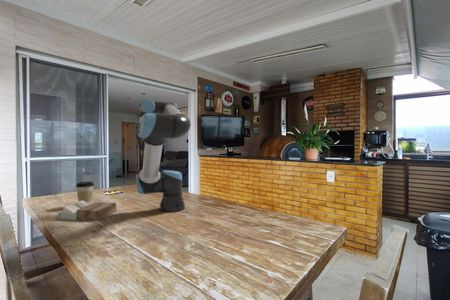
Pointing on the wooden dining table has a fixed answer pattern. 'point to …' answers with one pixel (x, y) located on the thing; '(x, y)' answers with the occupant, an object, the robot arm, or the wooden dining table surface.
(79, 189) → the coffee cup
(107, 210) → the board
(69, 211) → the tile
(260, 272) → the wooden dining table surface
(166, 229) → the wooden dining table surface
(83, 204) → the tile
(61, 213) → the tray
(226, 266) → the wooden dining table surface
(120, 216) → the wooden dining table surface
